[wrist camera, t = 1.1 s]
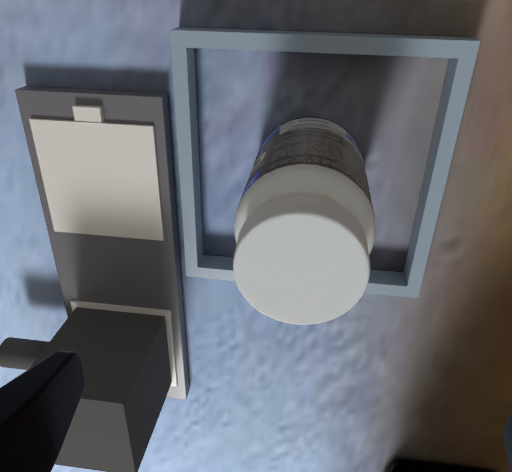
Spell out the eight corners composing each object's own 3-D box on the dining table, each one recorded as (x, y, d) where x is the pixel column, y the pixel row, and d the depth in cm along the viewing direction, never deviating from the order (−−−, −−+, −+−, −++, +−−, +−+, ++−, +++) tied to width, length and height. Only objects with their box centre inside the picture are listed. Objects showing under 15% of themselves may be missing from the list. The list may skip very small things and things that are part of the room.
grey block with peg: (165, 314, 24) (123, 403, 19) (172, 380, 27) (135, 475, 22) (13, 298, 25) (-67, 379, 20) (33, 364, 28) (-35, 451, 23)
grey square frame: (470, 37, 17) (480, 41, 16) (413, 283, 22) (417, 298, 21) (178, 27, 18) (169, 29, 17) (192, 263, 24) (186, 276, 23)
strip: (167, 93, 19) (159, 99, 18) (189, 389, 28) (184, 403, 27) (25, 86, 20) (10, 91, 19) (90, 377, 29) (81, 391, 28)
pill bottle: (251, 119, 20) (207, 200, 12) (363, 111, 19) (387, 193, 12) (261, 218, 22) (230, 336, 15) (362, 214, 21) (382, 337, 14)
